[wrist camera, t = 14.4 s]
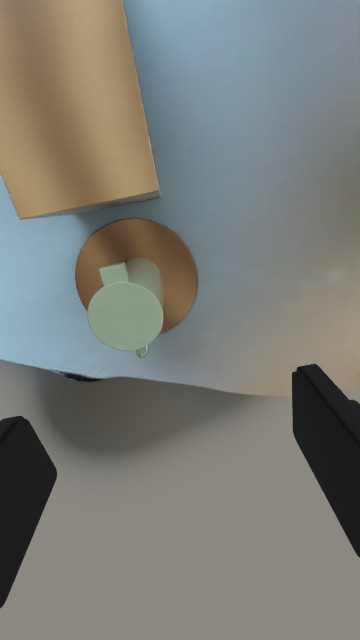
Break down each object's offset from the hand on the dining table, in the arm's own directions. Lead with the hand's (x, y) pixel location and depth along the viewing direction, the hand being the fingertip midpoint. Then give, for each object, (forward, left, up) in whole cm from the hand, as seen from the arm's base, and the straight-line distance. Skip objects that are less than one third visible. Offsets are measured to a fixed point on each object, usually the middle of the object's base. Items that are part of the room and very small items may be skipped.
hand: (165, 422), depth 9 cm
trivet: (+4, -1, -25) cm, 26 cm away
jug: (+4, -1, -25) cm, 25 cm away
